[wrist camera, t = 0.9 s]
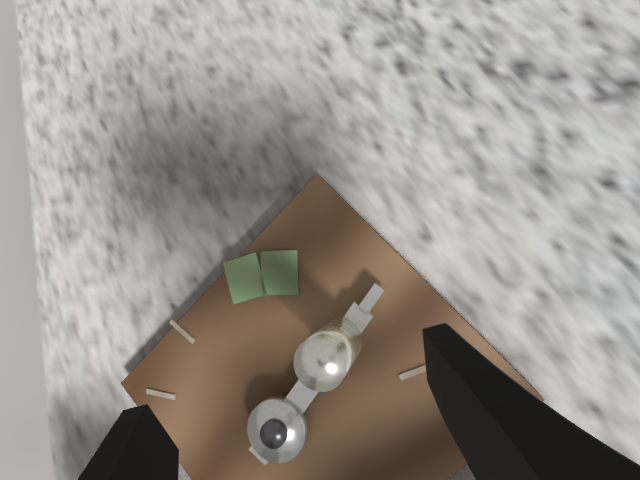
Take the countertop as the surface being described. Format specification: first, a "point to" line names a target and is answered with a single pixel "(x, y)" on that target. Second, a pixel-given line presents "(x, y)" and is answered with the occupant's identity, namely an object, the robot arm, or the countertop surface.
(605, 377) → the countertop surface
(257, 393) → the dial board
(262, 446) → the needle
